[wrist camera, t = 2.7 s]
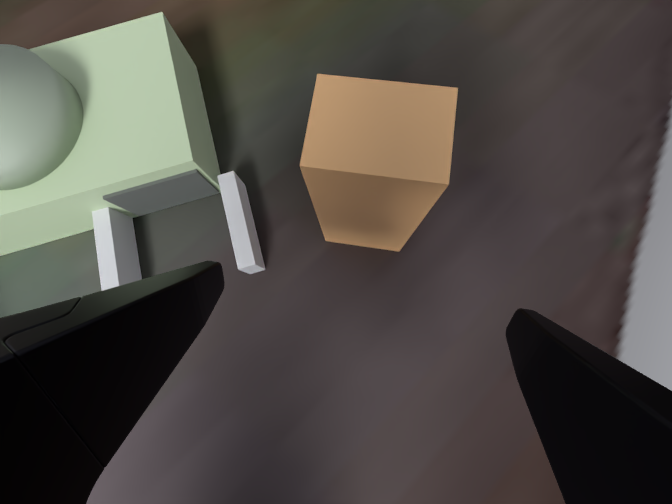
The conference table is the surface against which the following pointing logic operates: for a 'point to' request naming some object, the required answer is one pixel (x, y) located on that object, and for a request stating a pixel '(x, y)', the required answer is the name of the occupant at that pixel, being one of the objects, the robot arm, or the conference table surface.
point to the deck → (109, 144)
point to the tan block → (376, 157)
